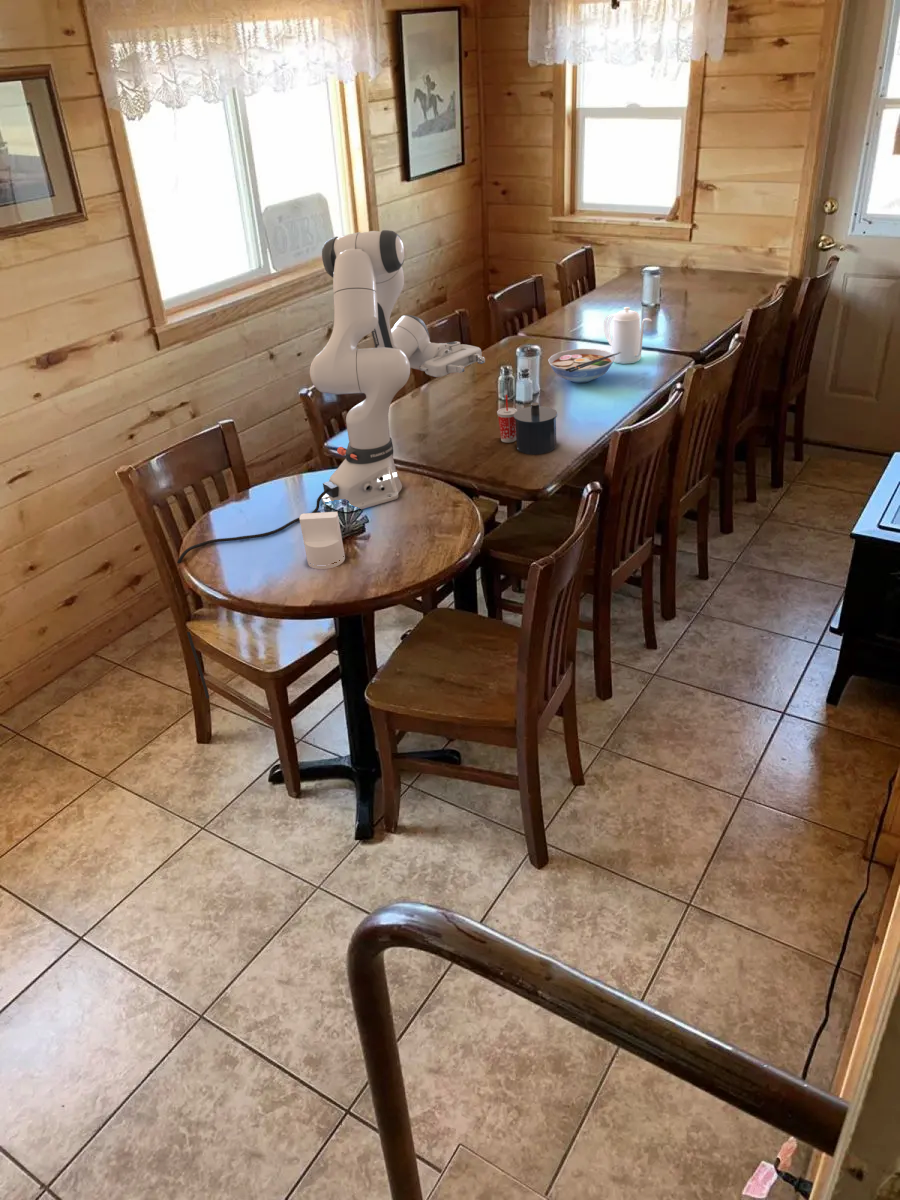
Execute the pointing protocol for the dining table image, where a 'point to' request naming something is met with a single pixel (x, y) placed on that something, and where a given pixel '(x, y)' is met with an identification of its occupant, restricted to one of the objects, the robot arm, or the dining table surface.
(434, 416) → the dining table surface
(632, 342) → the coffeepot
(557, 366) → the ramen bowl
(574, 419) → the dining table surface
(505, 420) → the beverage cup
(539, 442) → the pot
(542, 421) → the pot lid
